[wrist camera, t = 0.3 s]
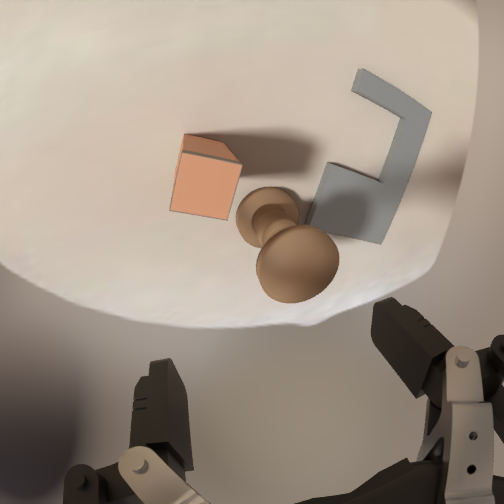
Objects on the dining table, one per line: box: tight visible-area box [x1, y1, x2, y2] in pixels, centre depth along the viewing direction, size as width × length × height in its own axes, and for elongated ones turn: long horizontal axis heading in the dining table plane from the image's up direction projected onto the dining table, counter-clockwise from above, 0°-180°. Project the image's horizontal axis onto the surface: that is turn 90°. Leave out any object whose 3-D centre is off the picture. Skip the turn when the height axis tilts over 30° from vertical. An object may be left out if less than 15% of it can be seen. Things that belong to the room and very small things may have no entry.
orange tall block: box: [169, 134, 243, 221], centre depth 23 cm, size 4×4×11 cm
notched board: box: [305, 69, 432, 245], centre depth 32 cm, size 20×12×1 cm, turn 164°
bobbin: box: [236, 187, 339, 303], centre depth 28 cm, size 7×7×11 cm
